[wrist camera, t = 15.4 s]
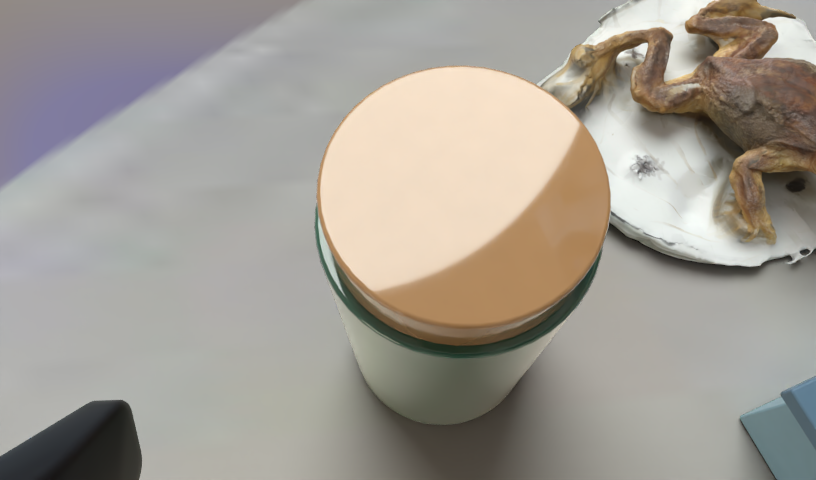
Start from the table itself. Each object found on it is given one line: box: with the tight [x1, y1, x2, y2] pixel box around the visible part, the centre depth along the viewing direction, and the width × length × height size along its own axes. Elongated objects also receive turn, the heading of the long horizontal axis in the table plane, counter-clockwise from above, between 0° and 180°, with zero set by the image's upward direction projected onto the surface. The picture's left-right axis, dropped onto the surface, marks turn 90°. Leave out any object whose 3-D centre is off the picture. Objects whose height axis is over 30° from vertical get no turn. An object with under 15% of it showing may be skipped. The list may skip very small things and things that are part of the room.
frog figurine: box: [536, 0, 816, 267], centre depth 22 cm, size 12×12×4 cm
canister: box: [314, 66, 611, 425], centre depth 16 cm, size 5×5×10 cm
